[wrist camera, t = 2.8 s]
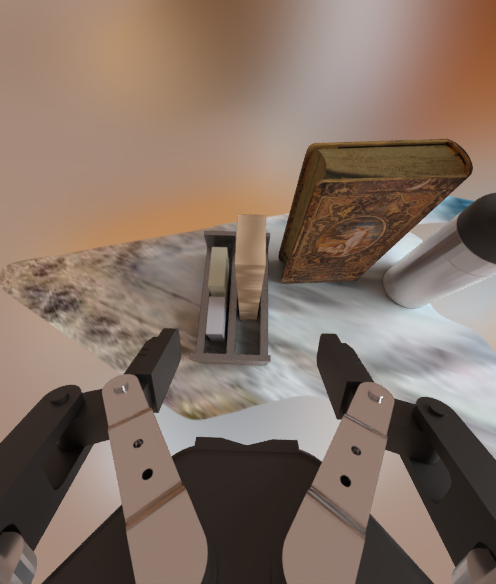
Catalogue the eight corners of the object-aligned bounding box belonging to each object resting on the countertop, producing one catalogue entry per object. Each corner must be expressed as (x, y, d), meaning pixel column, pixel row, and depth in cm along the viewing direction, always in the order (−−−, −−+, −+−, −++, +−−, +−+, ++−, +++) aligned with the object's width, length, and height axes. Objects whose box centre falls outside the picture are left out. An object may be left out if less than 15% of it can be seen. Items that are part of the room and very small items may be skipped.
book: (355, 256, 48) (459, 138, 25) (361, 280, 46) (480, 176, 23) (277, 259, 48) (307, 143, 24) (280, 284, 46) (315, 182, 22)
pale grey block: (227, 309, 44) (224, 297, 37) (225, 341, 42) (222, 334, 35) (214, 309, 44) (209, 296, 37) (211, 341, 42) (205, 333, 35)
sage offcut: (230, 271, 47) (227, 247, 38) (228, 304, 44) (224, 286, 36) (218, 271, 47) (211, 246, 38) (215, 304, 44) (207, 285, 36)
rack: (266, 256, 48) (269, 232, 40) (265, 365, 40) (270, 361, 33) (210, 254, 48) (204, 230, 40) (199, 362, 40) (189, 358, 33)
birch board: (256, 290, 45) (265, 215, 25) (256, 320, 43) (265, 265, 22) (241, 290, 45) (237, 214, 25) (240, 320, 43) (234, 264, 22)
